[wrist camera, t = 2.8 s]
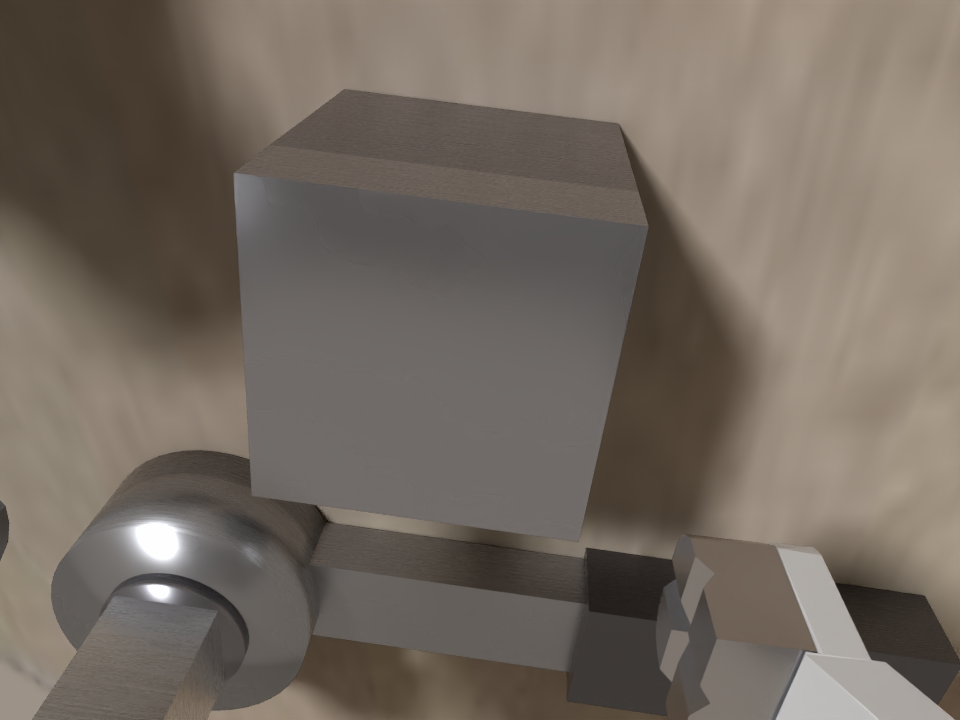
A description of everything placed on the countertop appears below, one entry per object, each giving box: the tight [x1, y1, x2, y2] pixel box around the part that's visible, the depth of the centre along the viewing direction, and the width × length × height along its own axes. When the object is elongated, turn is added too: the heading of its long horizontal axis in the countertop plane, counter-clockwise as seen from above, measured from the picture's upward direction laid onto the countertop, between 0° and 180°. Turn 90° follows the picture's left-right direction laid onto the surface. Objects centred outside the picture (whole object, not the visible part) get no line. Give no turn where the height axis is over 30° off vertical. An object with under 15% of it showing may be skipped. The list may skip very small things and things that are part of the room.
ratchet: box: [32, 450, 960, 720], centre depth 19 cm, size 22×6×7 cm, turn 84°
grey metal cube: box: [233, 89, 649, 542], centre depth 14 cm, size 6×6×6 cm
